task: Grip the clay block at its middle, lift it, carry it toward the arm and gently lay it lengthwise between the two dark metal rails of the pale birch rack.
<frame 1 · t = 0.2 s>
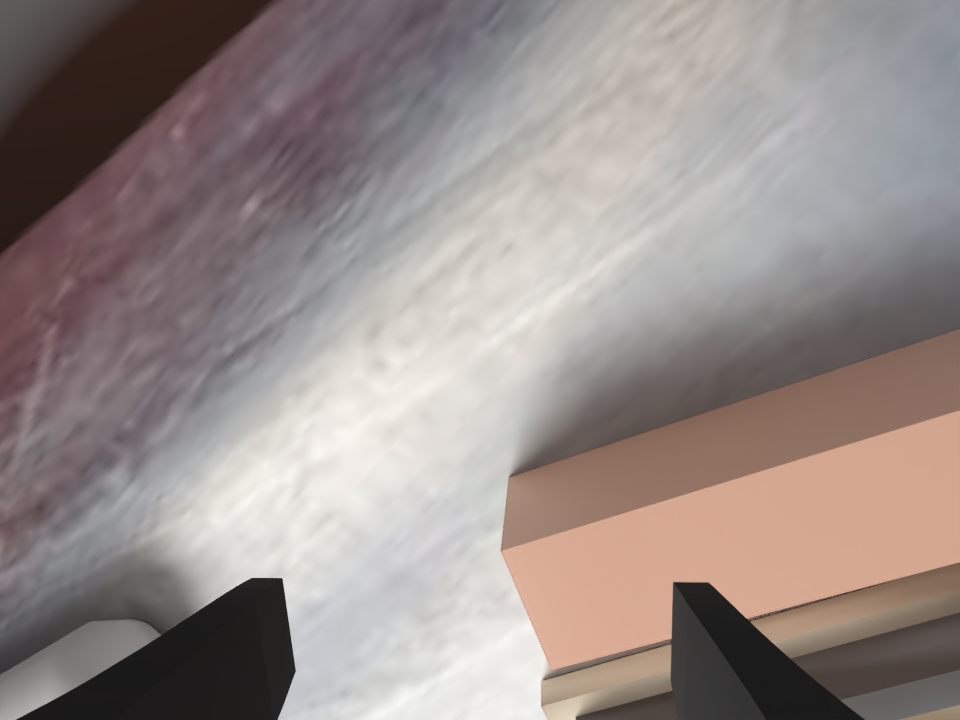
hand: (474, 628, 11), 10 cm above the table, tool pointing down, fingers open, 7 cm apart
clay block: (750, 453, 20), on the table
rack: (845, 718, 21), on the table
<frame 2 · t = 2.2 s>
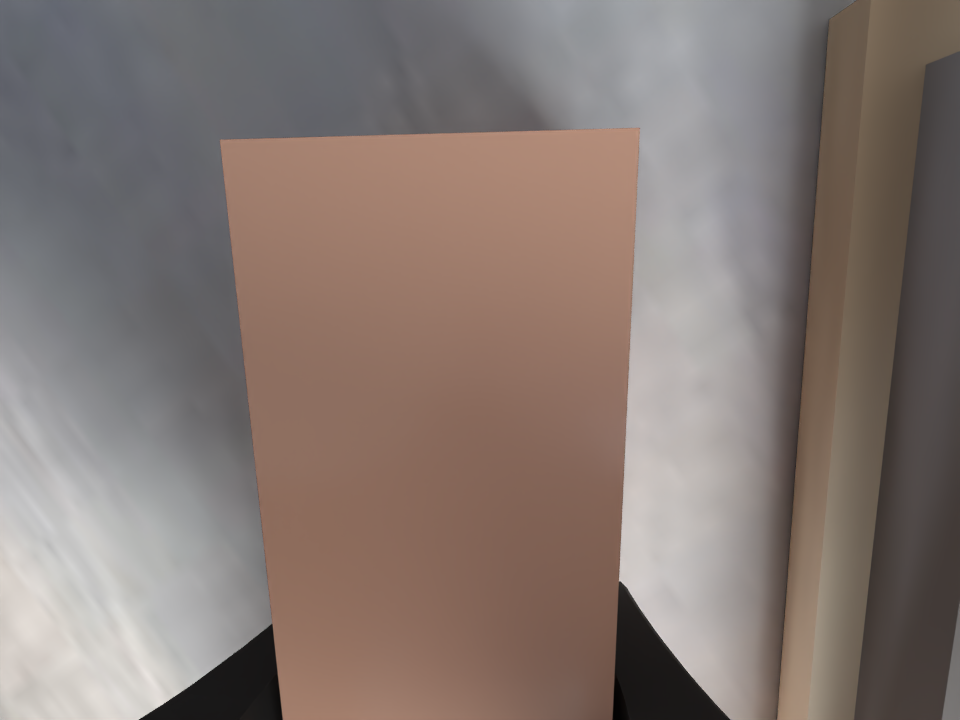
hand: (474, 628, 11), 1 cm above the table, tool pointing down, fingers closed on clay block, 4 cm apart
clay block: (481, 576, 12), on the table, touching gripper
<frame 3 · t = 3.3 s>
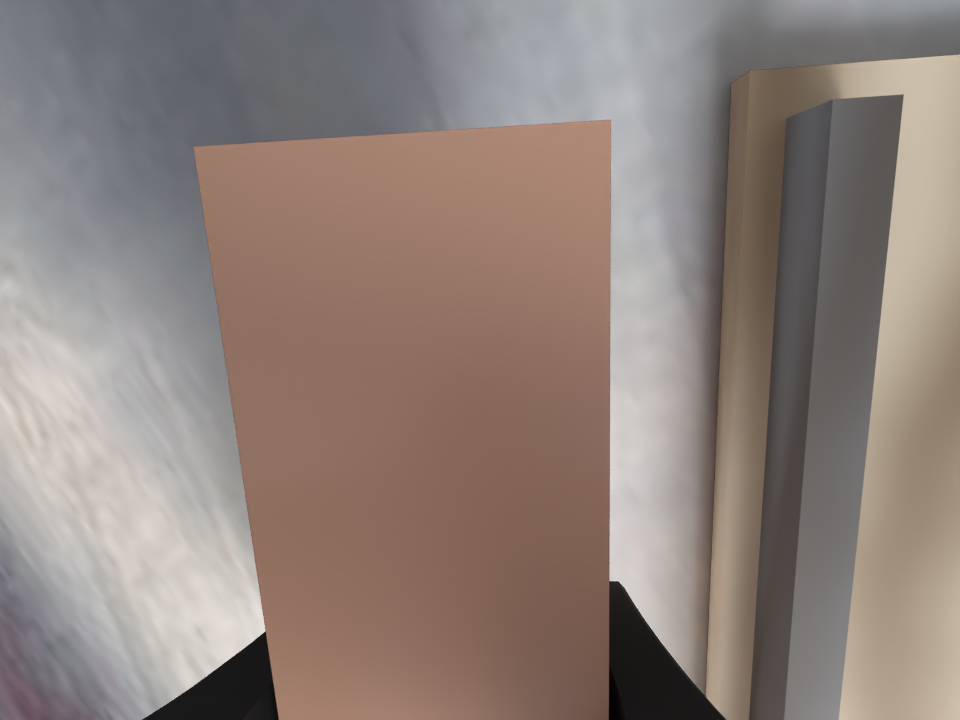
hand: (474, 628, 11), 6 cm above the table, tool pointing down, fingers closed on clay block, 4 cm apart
clay block: (481, 577, 12), point 4 cm above the table, touching gripper
rack: (912, 482, 15), on the table
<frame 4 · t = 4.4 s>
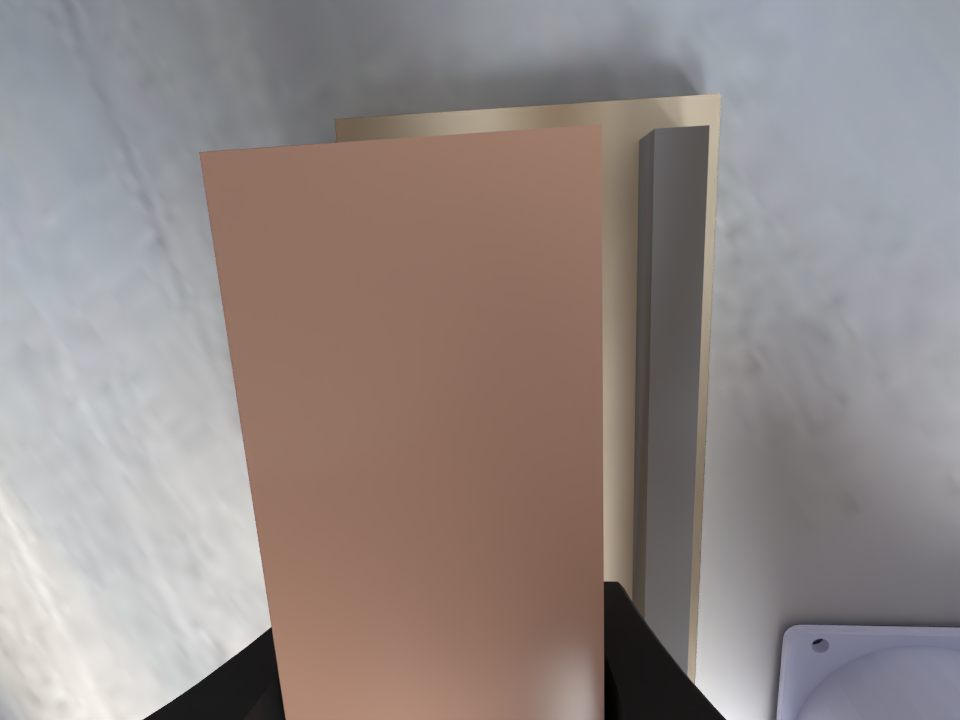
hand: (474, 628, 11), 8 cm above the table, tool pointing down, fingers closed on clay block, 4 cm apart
clay block: (481, 571, 12), point 7 cm above the table, touching gripper
rack: (531, 450, 19), on the table
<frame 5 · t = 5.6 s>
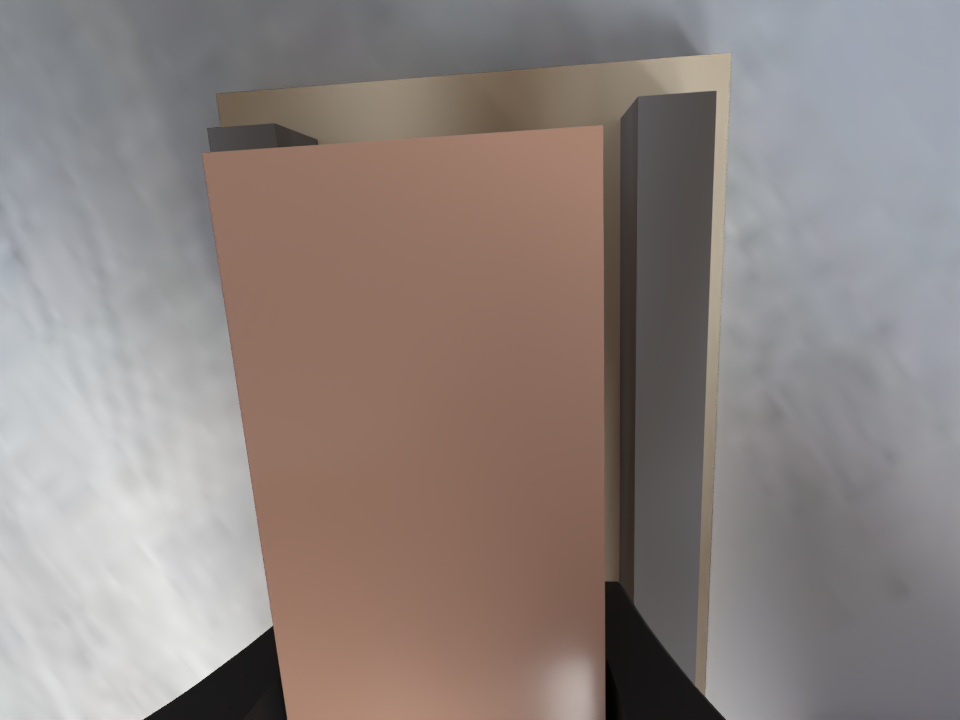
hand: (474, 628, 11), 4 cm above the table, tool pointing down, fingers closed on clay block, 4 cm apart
clay block: (482, 571, 12), point 2 cm above the table, touching gripper
rack: (491, 517, 15), on the table
when the fingers open (4 cm above the table, at t = 6.4 s): clay block drops 1 cm, resting on rack.
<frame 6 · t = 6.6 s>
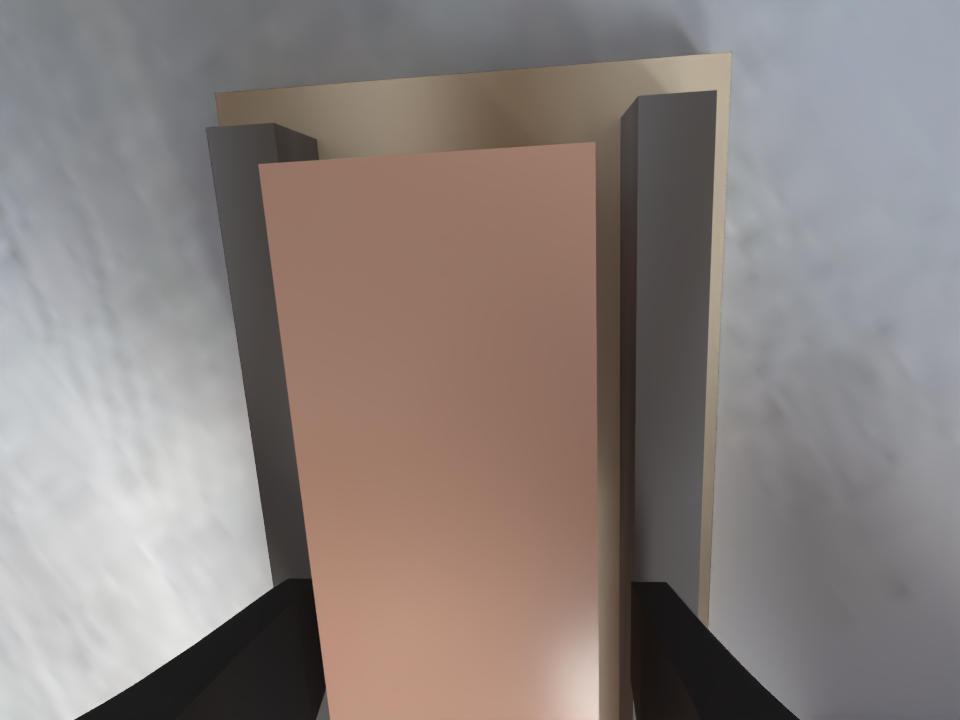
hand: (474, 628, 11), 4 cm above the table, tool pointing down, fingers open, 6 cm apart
clay block: (488, 543, 13), point 1 cm above the table, touching rack
rack: (490, 517, 15), on the table
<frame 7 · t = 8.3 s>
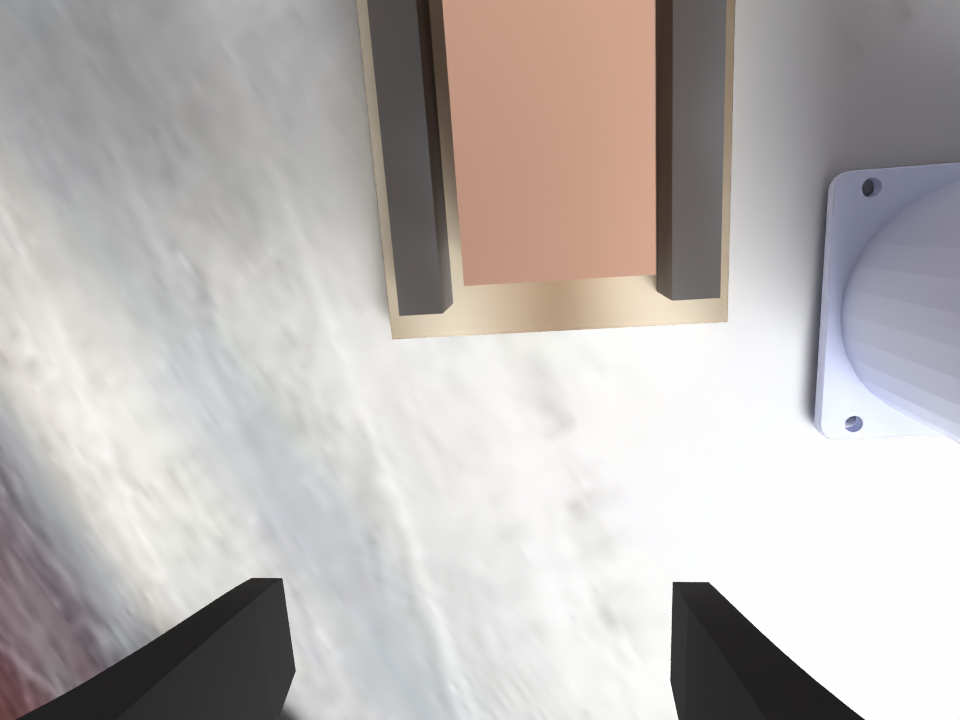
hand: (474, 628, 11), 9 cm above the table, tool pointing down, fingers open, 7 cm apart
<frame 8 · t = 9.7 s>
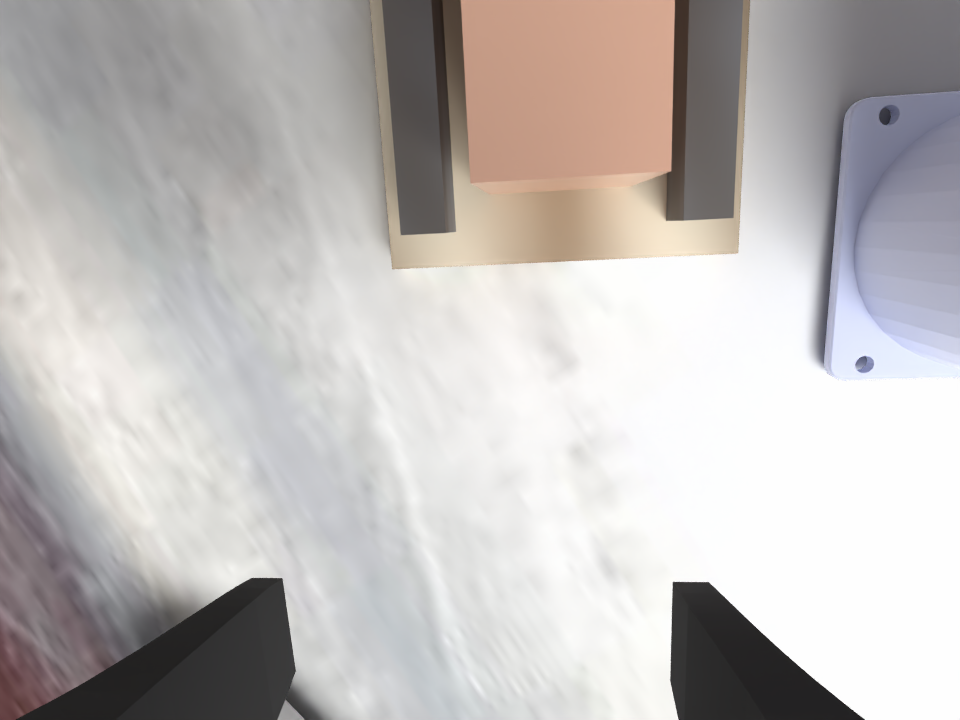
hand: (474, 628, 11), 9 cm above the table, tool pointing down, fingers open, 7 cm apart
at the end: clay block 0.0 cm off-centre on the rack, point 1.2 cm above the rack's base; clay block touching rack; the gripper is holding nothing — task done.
